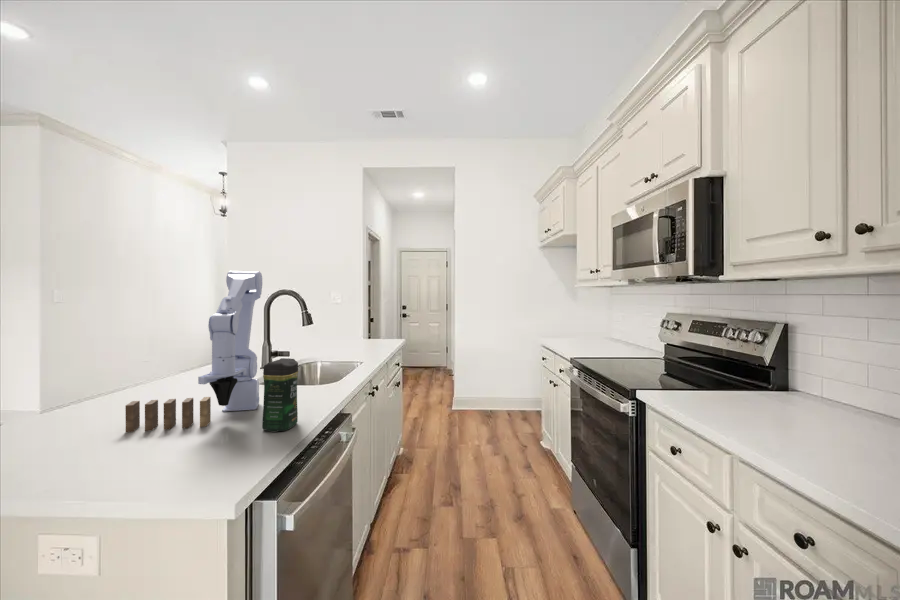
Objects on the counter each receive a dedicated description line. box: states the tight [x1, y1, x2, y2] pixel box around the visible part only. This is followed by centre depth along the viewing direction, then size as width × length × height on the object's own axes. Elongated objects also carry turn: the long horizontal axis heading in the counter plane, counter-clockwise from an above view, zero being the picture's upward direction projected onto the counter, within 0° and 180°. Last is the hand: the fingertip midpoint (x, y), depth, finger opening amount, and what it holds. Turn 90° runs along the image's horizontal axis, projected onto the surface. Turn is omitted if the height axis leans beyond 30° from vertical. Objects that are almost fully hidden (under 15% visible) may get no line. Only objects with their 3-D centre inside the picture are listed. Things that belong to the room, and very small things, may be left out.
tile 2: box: [181, 397, 194, 429], centre depth 116 cm, size 2×4×7 cm, turn 18°
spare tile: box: [199, 396, 212, 428], centre depth 117 cm, size 2×4×7 cm, turn 17°
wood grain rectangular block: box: [125, 400, 141, 433], centre depth 112 cm, size 2×4×7 cm, turn 18°
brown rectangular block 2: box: [163, 398, 177, 430], centre depth 115 cm, size 2×4×7 cm, turn 18°
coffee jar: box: [261, 357, 299, 433], centre depth 115 cm, size 10×8×19 cm
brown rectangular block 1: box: [144, 399, 159, 432], centre depth 113 cm, size 2×4×7 cm, turn 18°
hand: (223, 405), depth 118 cm, fingers closed
